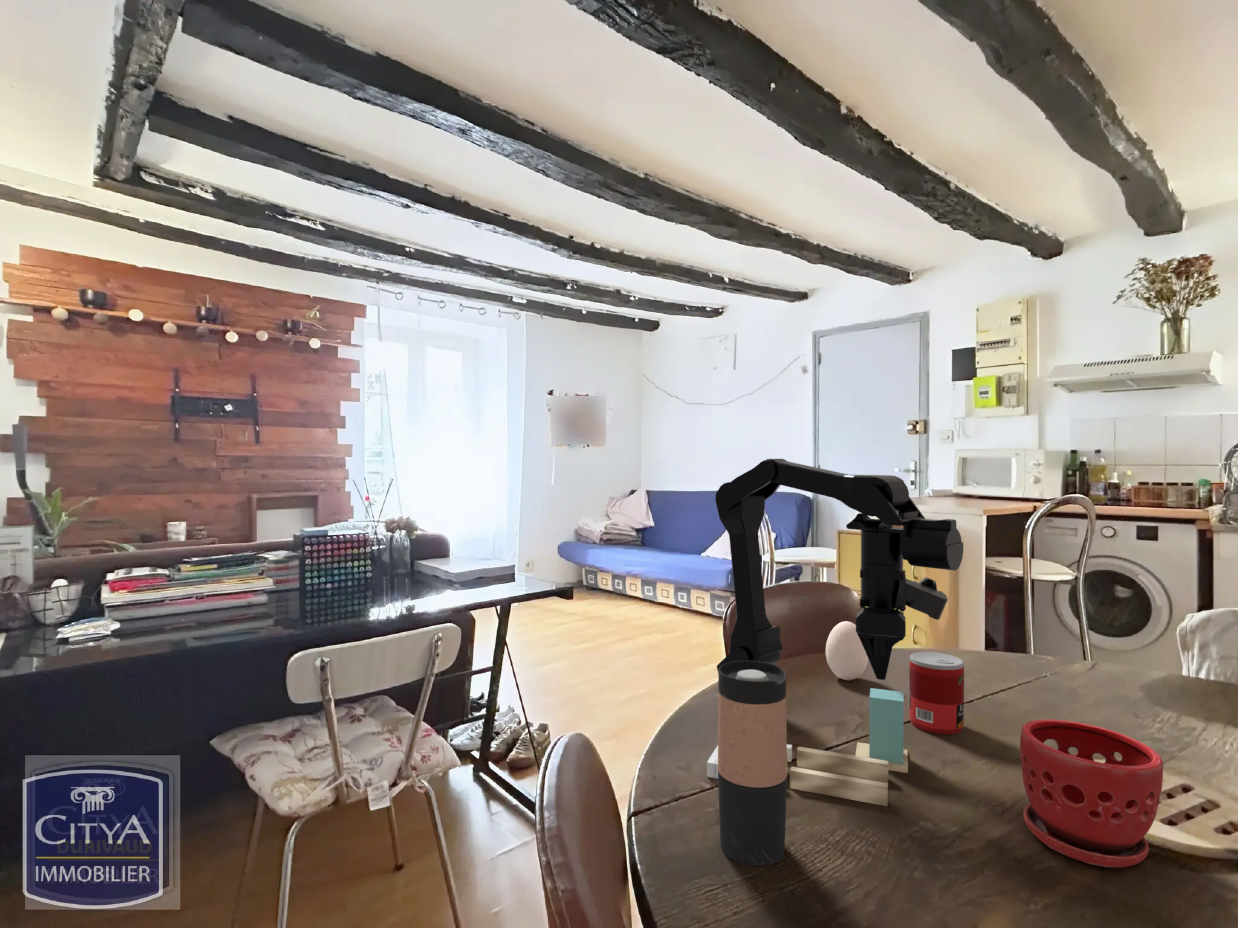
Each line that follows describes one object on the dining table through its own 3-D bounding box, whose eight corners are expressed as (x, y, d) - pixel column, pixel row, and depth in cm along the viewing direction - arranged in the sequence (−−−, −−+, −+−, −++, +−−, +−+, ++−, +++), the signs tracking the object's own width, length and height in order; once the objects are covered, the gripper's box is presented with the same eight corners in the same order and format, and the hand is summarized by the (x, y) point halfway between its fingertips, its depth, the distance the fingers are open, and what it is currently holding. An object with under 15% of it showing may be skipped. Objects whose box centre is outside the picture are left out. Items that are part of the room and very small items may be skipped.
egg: (838, 670, 136) (838, 614, 136) (875, 679, 131) (876, 621, 130) (817, 679, 131) (817, 621, 131) (855, 689, 125) (855, 629, 125)
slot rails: (790, 788, 88) (790, 770, 88) (798, 762, 95) (798, 746, 95) (887, 806, 84) (887, 787, 84) (888, 778, 91) (888, 760, 91)
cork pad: (854, 764, 95) (854, 761, 95) (857, 744, 101) (857, 741, 101) (908, 773, 92) (908, 770, 92) (907, 752, 99) (907, 749, 99)
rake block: (869, 759, 96) (869, 696, 95) (870, 747, 99) (870, 687, 99) (903, 764, 94) (903, 701, 94) (903, 753, 98) (903, 691, 97)
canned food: (970, 737, 104) (970, 667, 104) (915, 733, 106) (915, 664, 105) (955, 718, 111) (955, 652, 111) (904, 714, 113) (904, 650, 113)
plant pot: (1114, 894, 67) (1115, 775, 67) (994, 827, 79) (994, 726, 79) (1189, 862, 72) (1190, 752, 72) (1065, 804, 84) (1066, 709, 84)
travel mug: (711, 829, 79) (710, 660, 78) (774, 826, 79) (774, 658, 79) (727, 869, 71) (726, 683, 71) (797, 865, 72) (797, 680, 71)
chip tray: (707, 776, 91) (707, 762, 91) (724, 747, 101) (724, 733, 101) (781, 790, 88) (781, 775, 88) (792, 758, 97) (792, 744, 97)
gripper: (948, 576, 85) (948, 698, 85) (939, 556, 102) (939, 657, 102) (855, 571, 89) (855, 687, 89) (862, 552, 106) (862, 649, 106)
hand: (881, 669), depth 97 cm, fingers open, 9 cm apart
